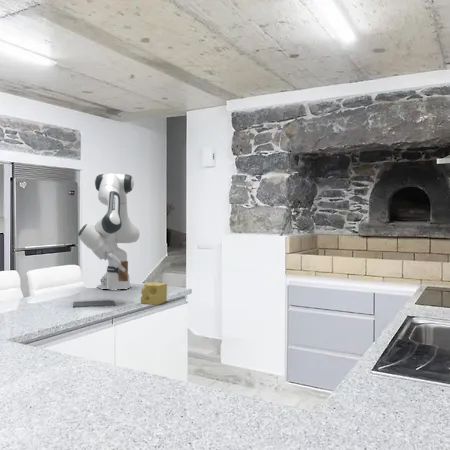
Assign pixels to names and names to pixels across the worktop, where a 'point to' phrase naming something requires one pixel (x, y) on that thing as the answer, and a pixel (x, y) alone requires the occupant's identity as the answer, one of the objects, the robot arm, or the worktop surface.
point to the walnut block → (123, 275)
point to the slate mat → (93, 303)
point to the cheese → (154, 293)
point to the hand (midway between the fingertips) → (124, 270)
